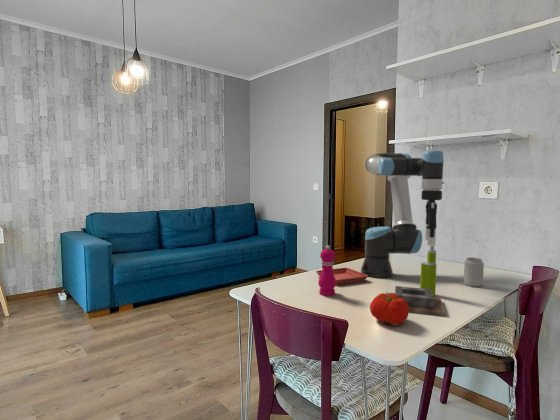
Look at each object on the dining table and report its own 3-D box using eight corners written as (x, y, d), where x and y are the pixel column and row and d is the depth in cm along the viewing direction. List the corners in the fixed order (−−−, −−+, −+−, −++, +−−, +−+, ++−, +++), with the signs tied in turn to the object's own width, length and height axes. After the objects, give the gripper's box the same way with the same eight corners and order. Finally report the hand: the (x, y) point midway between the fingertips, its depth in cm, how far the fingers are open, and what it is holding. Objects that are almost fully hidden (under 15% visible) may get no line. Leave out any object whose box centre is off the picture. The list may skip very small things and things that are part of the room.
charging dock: (384, 309, 129) (384, 295, 129) (386, 295, 144) (386, 283, 144) (445, 316, 123) (445, 302, 122) (440, 301, 138) (440, 288, 137)
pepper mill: (324, 297, 142) (325, 247, 140) (314, 292, 148) (315, 244, 147) (339, 294, 145) (340, 246, 144) (329, 290, 152) (329, 243, 150)
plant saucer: (315, 277, 173) (315, 270, 173) (346, 273, 181) (346, 266, 181) (335, 287, 157) (335, 279, 157) (369, 282, 164) (369, 275, 164)
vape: (433, 297, 143) (435, 247, 142) (418, 293, 148) (420, 245, 146) (437, 295, 146) (439, 246, 144) (422, 291, 150) (424, 244, 148)
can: (466, 281, 165) (468, 256, 164) (484, 285, 160) (486, 258, 159) (461, 285, 160) (462, 258, 159) (479, 288, 155) (480, 261, 154)
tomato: (365, 314, 124) (365, 290, 124) (400, 314, 125) (401, 290, 124) (375, 329, 112) (376, 302, 111) (415, 329, 112) (416, 302, 111)
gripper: (445, 190, 130) (443, 248, 132) (439, 189, 154) (437, 238, 155) (423, 190, 133) (421, 247, 134) (420, 189, 156) (418, 238, 158)
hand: (430, 242), depth 145 cm, fingers open, 13 cm apart
